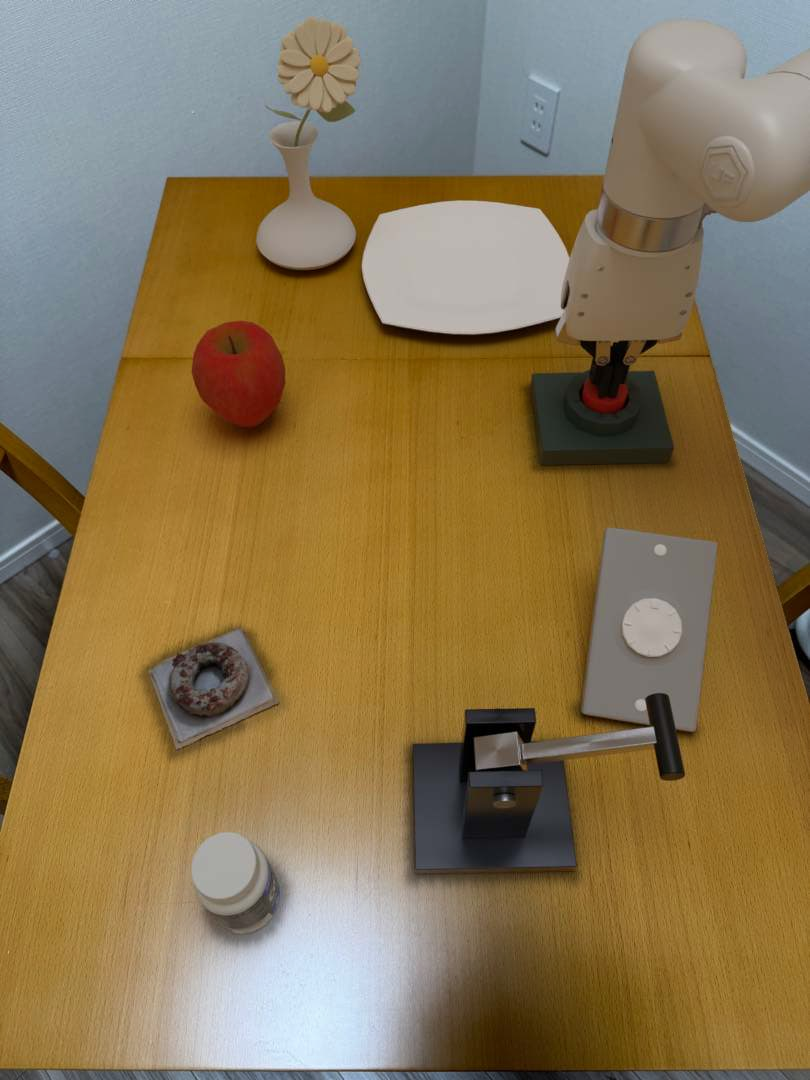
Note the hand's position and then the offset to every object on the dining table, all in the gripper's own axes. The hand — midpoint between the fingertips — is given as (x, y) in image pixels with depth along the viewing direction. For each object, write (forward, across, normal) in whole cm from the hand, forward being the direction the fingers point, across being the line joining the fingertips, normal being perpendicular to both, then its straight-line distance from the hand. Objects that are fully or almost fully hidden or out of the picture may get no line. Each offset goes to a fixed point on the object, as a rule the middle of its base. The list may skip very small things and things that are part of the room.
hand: (604, 386), depth 79 cm
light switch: (+5, 0, +25) cm, 25 cm away
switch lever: (-5, +8, +37) cm, 38 cm away
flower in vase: (+5, +28, -28) cm, 40 cm away
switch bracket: (+5, +13, +37) cm, 39 cm away
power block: (+5, 0, 0) cm, 5 cm away
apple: (+5, +34, -2) cm, 34 cm away
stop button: (+2, 0, 0) cm, 2 cm away
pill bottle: (+5, +30, +43) cm, 52 cm away
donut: (+5, +34, +27) cm, 44 cm away
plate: (+5, +11, -23) cm, 26 cm away
